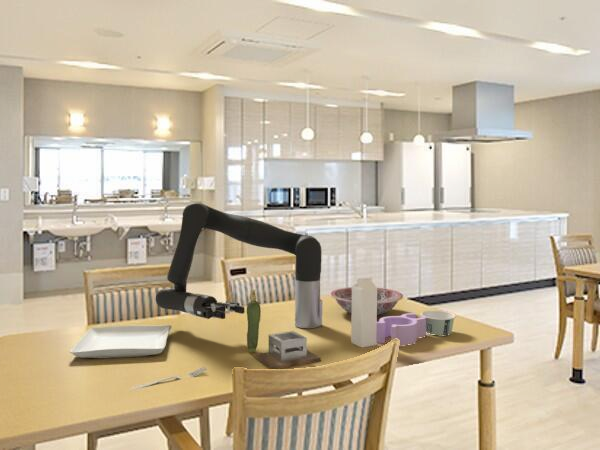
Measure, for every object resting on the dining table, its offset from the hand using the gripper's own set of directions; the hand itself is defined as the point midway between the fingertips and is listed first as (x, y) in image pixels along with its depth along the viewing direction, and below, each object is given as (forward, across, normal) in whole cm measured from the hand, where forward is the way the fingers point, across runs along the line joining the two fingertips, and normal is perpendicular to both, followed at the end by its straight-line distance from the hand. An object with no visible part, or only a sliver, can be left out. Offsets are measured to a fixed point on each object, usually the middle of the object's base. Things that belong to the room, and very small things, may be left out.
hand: (234, 313), depth 167 cm
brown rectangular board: (+21, +2, +11) cm, 24 cm away
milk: (+31, +29, +11) cm, 44 cm away
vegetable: (+8, 0, +11) cm, 14 cm away
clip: (+38, +42, +12) cm, 58 cm away
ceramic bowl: (+10, +64, +11) cm, 66 cm away
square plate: (-27, -22, +12) cm, 37 cm away
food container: (+44, +57, +11) cm, 73 cm away
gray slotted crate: (+21, +2, +11) cm, 24 cm away
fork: (+7, -33, +12) cm, 35 cm away
